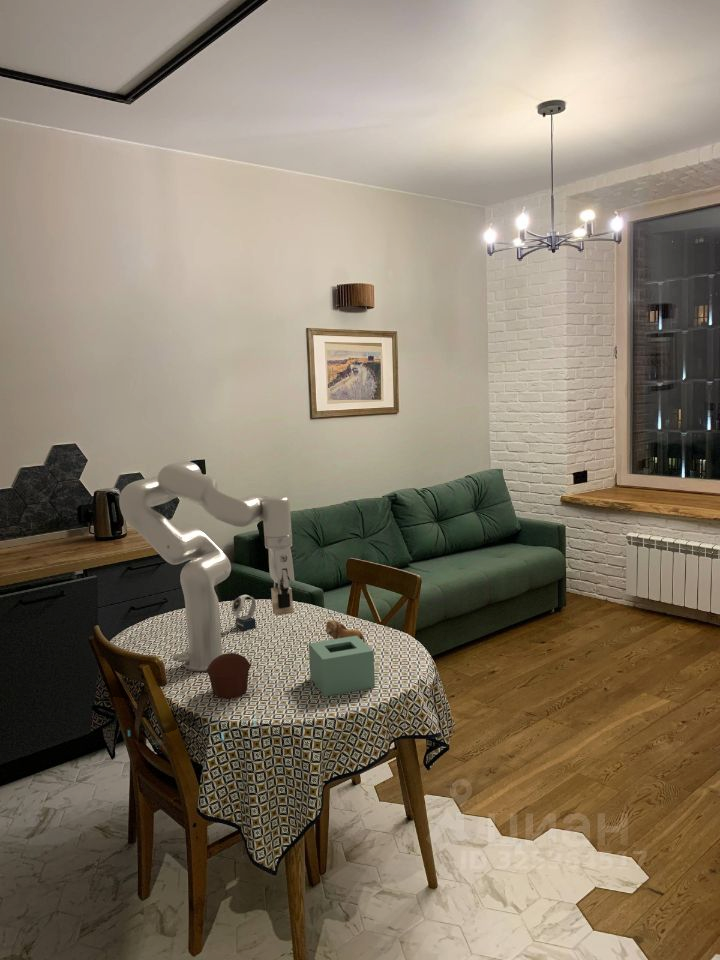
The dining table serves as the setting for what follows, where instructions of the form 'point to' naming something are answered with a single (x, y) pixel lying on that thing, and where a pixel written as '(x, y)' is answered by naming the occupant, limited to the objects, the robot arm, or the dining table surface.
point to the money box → (341, 665)
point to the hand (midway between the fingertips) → (282, 605)
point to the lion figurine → (341, 631)
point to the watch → (244, 621)
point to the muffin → (229, 675)
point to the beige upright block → (276, 609)
